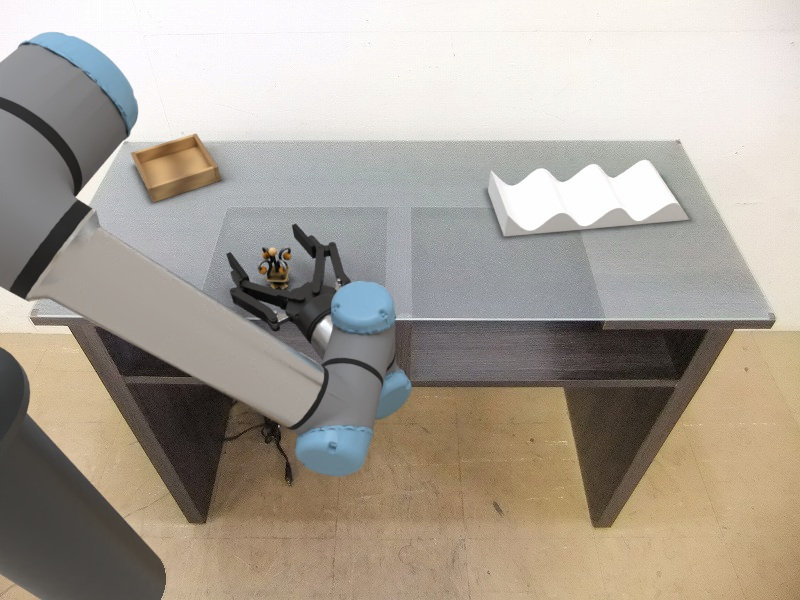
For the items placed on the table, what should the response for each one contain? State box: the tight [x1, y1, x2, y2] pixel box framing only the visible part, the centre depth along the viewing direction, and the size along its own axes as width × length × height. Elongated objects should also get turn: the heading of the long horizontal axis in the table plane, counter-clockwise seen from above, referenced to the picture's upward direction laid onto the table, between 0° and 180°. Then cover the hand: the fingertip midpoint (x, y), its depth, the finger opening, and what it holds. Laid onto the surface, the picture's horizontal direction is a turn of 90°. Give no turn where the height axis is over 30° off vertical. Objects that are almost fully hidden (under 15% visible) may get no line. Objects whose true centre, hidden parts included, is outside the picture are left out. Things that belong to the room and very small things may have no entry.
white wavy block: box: [487, 159, 690, 237], centre depth 111 cm, size 13×35×5 cm, turn 97°
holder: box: [130, 133, 222, 203], centre depth 120 cm, size 14×14×3 cm
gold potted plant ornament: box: [256, 245, 292, 290], centre depth 97 cm, size 5×5×8 cm
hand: (263, 244), depth 98 cm, fingers open, 11 cm apart
